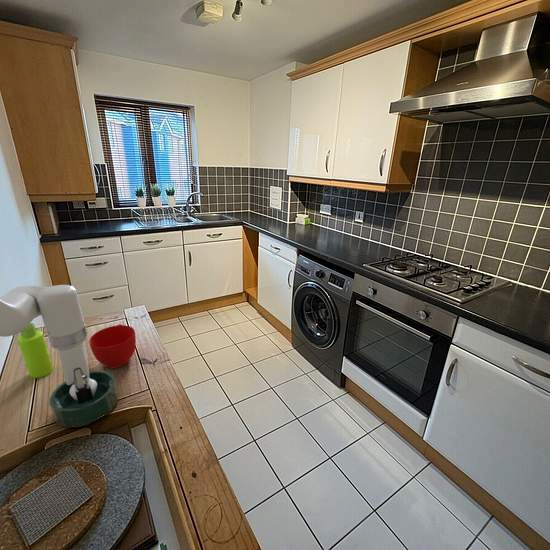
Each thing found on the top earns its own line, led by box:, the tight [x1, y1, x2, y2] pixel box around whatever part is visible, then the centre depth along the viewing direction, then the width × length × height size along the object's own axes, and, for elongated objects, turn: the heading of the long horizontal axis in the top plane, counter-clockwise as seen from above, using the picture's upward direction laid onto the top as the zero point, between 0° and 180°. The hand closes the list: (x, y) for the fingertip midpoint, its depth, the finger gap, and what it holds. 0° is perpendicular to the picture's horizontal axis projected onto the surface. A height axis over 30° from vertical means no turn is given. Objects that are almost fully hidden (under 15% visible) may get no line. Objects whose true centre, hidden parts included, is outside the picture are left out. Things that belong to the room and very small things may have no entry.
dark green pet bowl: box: [49, 370, 120, 428], centre depth 78 cm, size 15×15×6 cm
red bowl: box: [88, 323, 137, 369], centre depth 96 cm, size 13×17×10 cm
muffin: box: [69, 375, 97, 402], centre depth 76 cm, size 6×6×7 cm
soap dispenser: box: [16, 322, 54, 379], centre depth 88 cm, size 6×7×20 cm
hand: (84, 392), depth 77 cm, fingers closed on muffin, 6 cm apart
